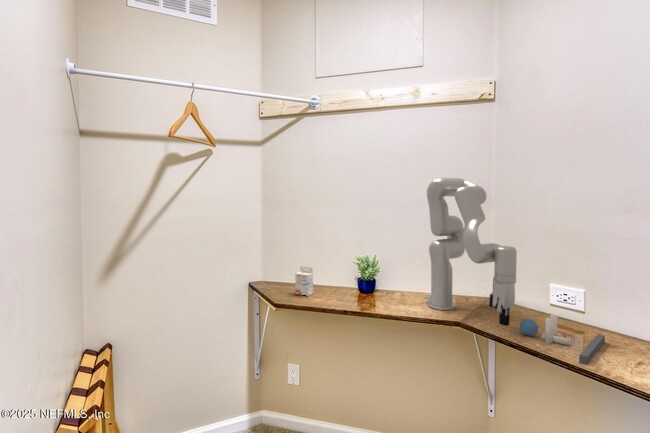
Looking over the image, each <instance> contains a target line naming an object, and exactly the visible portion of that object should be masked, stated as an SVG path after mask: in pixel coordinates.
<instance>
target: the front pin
mask: <svg viewBox="0 0 650 433" xmlns="http://www.w3.org/2000/svg"><path fill="white" fill-rule="evenodd" d="M540 336H541V339H542V340H544V341H545V332H542V333H541V335H540ZM553 343H556V344H560V345H563V346H568V347H571V346H572V339H570V338H566V337H561V336H558V335H557V336H554V335H553Z"/></svg>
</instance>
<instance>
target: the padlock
mask: <svg viewBox="0 0 650 433" xmlns="http://www.w3.org/2000/svg"><path fill="white" fill-rule="evenodd" d="M494 284H495V281H494V276H493V278H492V291H491V293H490V294H489V300H488V307H489V308H493V291H494ZM497 307H498V306H497ZM497 307H494V309H497Z"/></svg>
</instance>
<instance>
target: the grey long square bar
mask: <svg viewBox="0 0 650 433" xmlns="http://www.w3.org/2000/svg"><path fill="white" fill-rule="evenodd" d="M605 340H606V335H605V334H600V333H597V334H596V335H595V336H594V338H592V339H591V341H590V342H589V343H588V344H587V346H585V347H584V349H583V350H582V351H581V352H580V353H579V356H578V362H579V364H583V365H588V364H589V363H590V362H591V360H592V359H593V358H594V357H595V356H596V354H597V353H598V352H599V351H600V349H601V348H602V347H603V345H604V344H605V343H606V341H605Z"/></svg>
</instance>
